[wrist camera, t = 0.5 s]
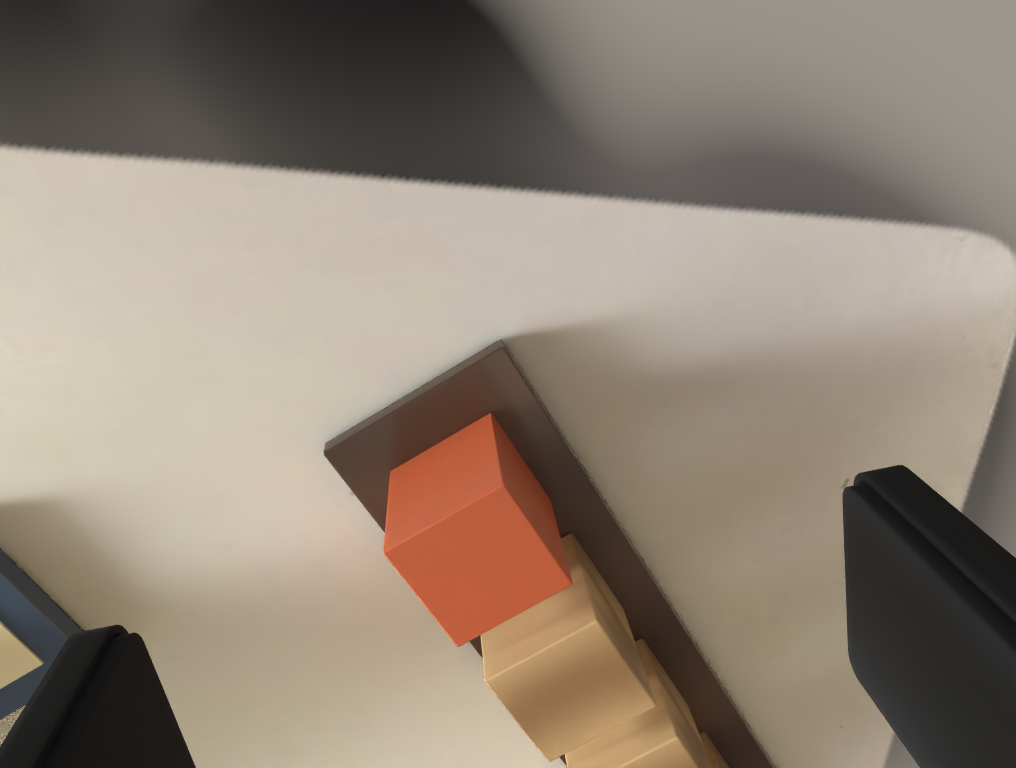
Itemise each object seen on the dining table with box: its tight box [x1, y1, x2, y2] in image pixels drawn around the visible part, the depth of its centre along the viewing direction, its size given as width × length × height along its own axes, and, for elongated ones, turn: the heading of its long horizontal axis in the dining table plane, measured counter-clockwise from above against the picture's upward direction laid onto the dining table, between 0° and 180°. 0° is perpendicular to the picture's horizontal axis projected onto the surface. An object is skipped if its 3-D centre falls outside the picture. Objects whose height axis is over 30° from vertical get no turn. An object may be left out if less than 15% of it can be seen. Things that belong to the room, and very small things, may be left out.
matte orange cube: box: [383, 413, 573, 647], centre depth 27 cm, size 4×4×5 cm
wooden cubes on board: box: [323, 340, 775, 768], centre depth 30 cm, size 24×7×6 cm, turn 31°
